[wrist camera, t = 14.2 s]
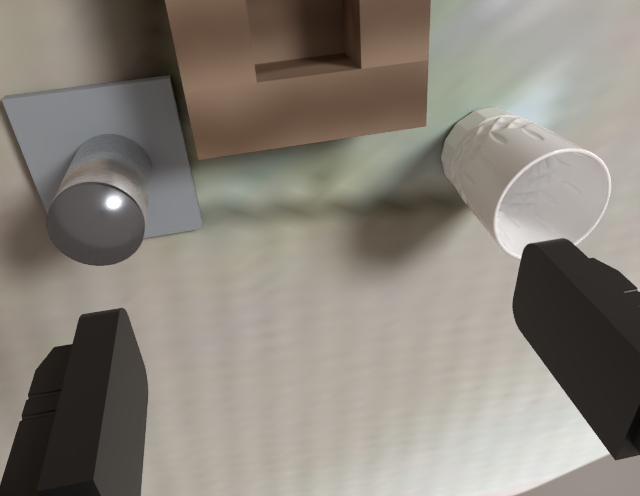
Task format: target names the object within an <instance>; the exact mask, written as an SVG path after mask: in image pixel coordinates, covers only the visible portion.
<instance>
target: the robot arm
mask: <svg viewBox="0 0 640 496" xmlns="http://www.w3.org/2000/svg"><path fill="white" fill-rule="evenodd" d="M513 314H514V318H515V321H516V324H517V326H518V328H519V330H520V331H521V333H522V334H523V335H524V337H525V338H526V339H527V341H528V342H529V343H530V345H531V346H532V348H533V349H534V350H535V352H536V353H537V354H538V356H539V357H540V358H541V360H542V361H543V363H544V364H545V365H546V367H547V368H548V369H549V371H550V372H551V373H552V375H553V376H554V378H555V379H556V380H557V382H558V383H559V384H560V386H561V387H562V388H563V390H564V391H565V392H566V394H567V395H568V397H569V398H570V399H571V401H572V402H573V403H574V405H575V406H576V407H577V409H578V410H579V412H580V413H581V414H582V416H583V417H584V418H585V420H586V421H587V422H588V424H589V425H590V427H591V428H592V429H593V431H594V432H595V433H596V435H597V436H598V437H599V439H600V440H601V441H602V443H603V444H604V446H605V447H606V448H607V450H608V451H609V452H610V454H611V455H612V456H613V458H614V459H615V460H619V459H624V458H628V457H633V456H637V455H640V292H638V290H637V287H636V286H635V285H633V284H632V283H631V282H630V281H629V280H628V279H627V278H626V277H625V276H624V275H622V274H621V273H620V272H619V271H618V270H616V269H614V268H612V267H610V266H608V265H606V264H604V263H602V262H600V261H598V260H596V259H595V258H590V259H589V258H588V257H587V256H586V255H585V254H584V253H583V252H581V251H580V250H579V249H578V248H577V247H576V246H575V245H574V244H573V243H572V242H571V241H570V240H568V239H565V238H560V239H554V240H548V241H542V242H535V243H529V244H527V245H526V246H525V248H524V250H523V252H522V257H521V262H520V267H519V272H518V277H517V282H516V287H515V292H514V297H513ZM28 397H29V399H28V400H26V403H25V406H24V410H23V413H22V421H20V423H19V426H18V429H17V432H16V436H15V439H14V442H13V445H12V449H11V452H10V455H9V458H8V462H7V465H6V468H5V471H4V475H3V478H2V481H1V484H0V496H141V483H142V470H143V457H144V444H145V431H146V418H147V404H148V382H147V375H146V370H145V365H144V362H143V359H142V356H141V353H140V350H139V347H138V344H137V341H136V338H135V335H134V332H133V329H132V326H131V323H130V320H129V317H128V314H127V312H126V310H125V309H124V308H119V309H112V310H106V311H100V312H94V313H88V314H82V315H81V316H80V318H79V321H78V324H77V329H76V333H75V337H74V341H73V344H70V345H64V346H58V347H54V348H53V349H52V351H51V352H50V353H49V354H48V356H47V357H46V358H45V359H44V361H43V362H42V363H41V364H40V366H39V367H38V368H37V369H36V371H35V374H34V377H33V380H32V384H31V387H30V390H29V393H28Z"/></svg>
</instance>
